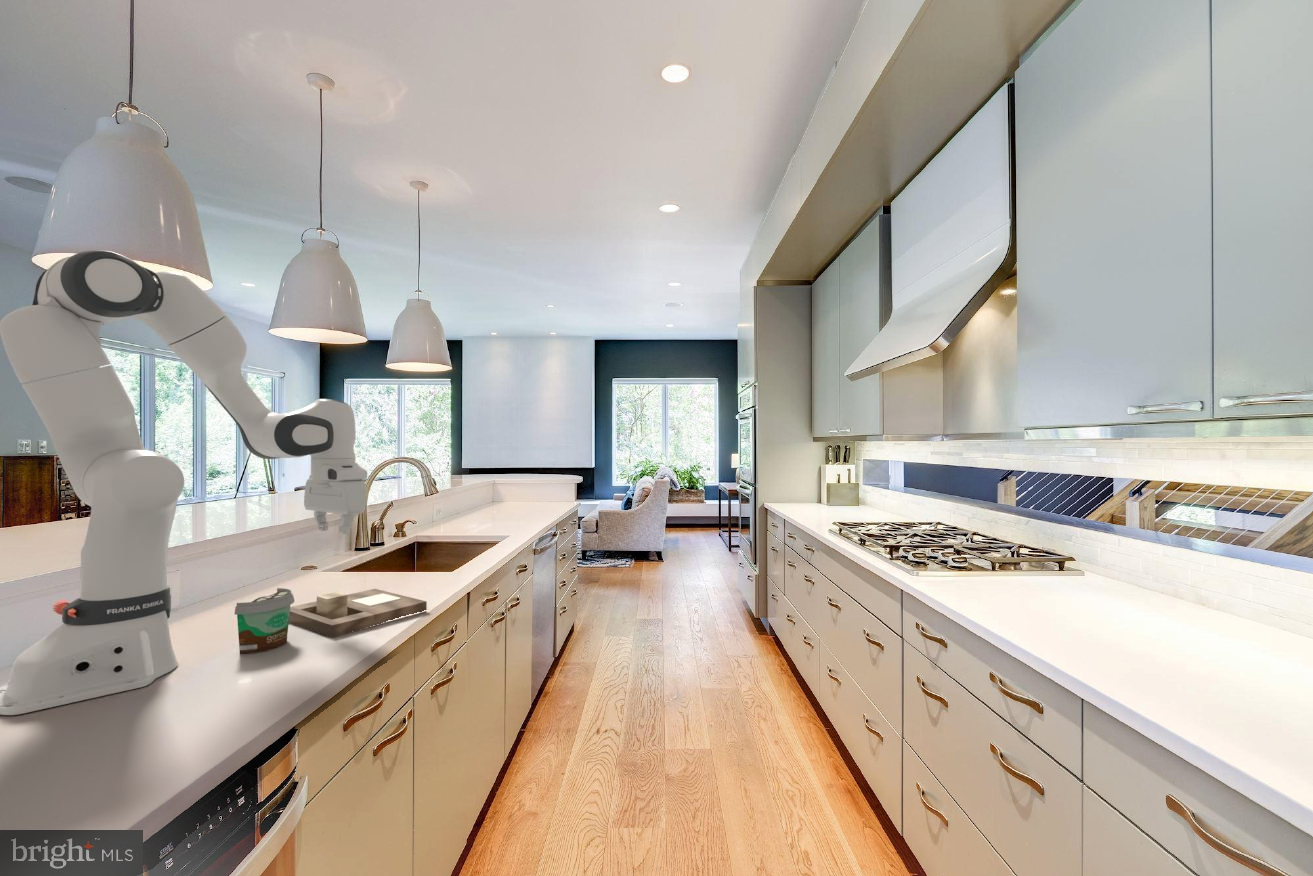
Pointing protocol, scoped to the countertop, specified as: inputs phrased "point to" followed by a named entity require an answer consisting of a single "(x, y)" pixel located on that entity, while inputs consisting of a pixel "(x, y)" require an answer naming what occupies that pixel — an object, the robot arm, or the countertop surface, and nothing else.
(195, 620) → the countertop surface
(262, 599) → the food container
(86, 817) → the countertop surface
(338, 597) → the ash block
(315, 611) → the pocket board
